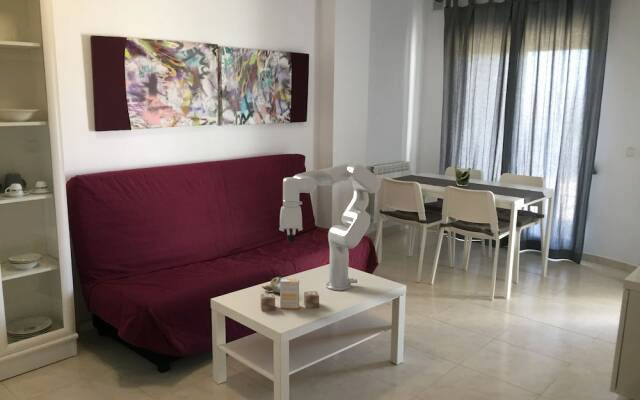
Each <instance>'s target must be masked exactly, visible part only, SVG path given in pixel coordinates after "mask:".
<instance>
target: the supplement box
mask: <svg viewBox="0 0 640 400" xmlns="http://www.w3.org/2000/svg"><path fill="white" fill-rule="evenodd" d="M279 294H280V295H279V297H280V309H284V310H285V309H287V310H288V309H290V310H298V309H299V307H300V278H288V277H287V278H286V277H283V278H282V279H281V281H280V293H279Z"/></svg>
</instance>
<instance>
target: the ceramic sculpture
mask: <svg viewBox="0 0 640 400" xmlns="http://www.w3.org/2000/svg"><path fill="white" fill-rule="evenodd" d="M282 278H284V277H282V276H281V275H278V276H277V277H273V278H272V279H271V281H270V284H267V285H265V286H262V285H261V287H262V289H263V290H265V291H267V292H273V293H278V294H280V281H281V279H282Z"/></svg>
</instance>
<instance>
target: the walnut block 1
mask: <svg viewBox="0 0 640 400" xmlns="http://www.w3.org/2000/svg"><path fill="white" fill-rule="evenodd" d="M274 293H275V292H273V293H260V310H261V312H271V311H273V312H274V311H276V297H275V294H274Z"/></svg>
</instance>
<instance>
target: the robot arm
mask: <svg viewBox="0 0 640 400" xmlns="http://www.w3.org/2000/svg"><path fill="white" fill-rule="evenodd" d="M349 181H351V184H352V190H353V195H352V198H351V201H350V202H349V204H348V205H347V207H346V208H345V210H344V211H343V213H342V216H341V222H342V223H343V225H340V224H335V225H333V226H331V227H330V228H329V230H328V233H327V237H328V238H327V239H328V245H329V267H328V268H329V269H328V270H329V271H328V273H329V274H328V282H326V284H325V287H326V288H327V289H328V290H332V291H346V290H350V289H351V288H352V284H357V283H358V279H357V278H349V259H350V258H349V256H350V255H349V249H354V248H355V247H357V246H358V245H359V243H360V242H361V241H362V238H363V237H364V236H365V234H366V232H367V231H368V229H369V227H370V225H371V216H370V213H368V211H366V209H367V207H368V205H369V202H370V199H369V194H375V193H377V192H379V190H380V189H381V187H382V184H381V183H382V182H381V180H380V178H379V177H378V176H377V175H375V174H374V173H373V172H371V171H370V170H369V169H368V168H366V167H365V166H363V165H361V164H358V163H352V162H346V163H342V164H338V165H335V166H331V167H328V168H327V167H326V168H321V169H315V170H309V171H308V170H307V171H305V172H301V173H296V174H294V176H291V177H289V176H288V177H284V178H283V180H282V206H281V207H280V212H279V213H280V214H279V228H278V230H279V231H281V232H284V233H285V234H286V236H287V242H288V243H289V244H294V242H295V235H296V234H297V233H298V232H300V231H303V229H304V227H303V216H302V214H303V213H302V207H301V205H303V201H300V194H301V193H305V194H309V193H313V192H314V191H315V190H316V189H317V186H322V187H323V186H324V187H326V186H327V187H330V186H334V185H338V184H341V183H345V182H349ZM344 225H345V226H344ZM290 230H292V231H291V232H290Z"/></svg>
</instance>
